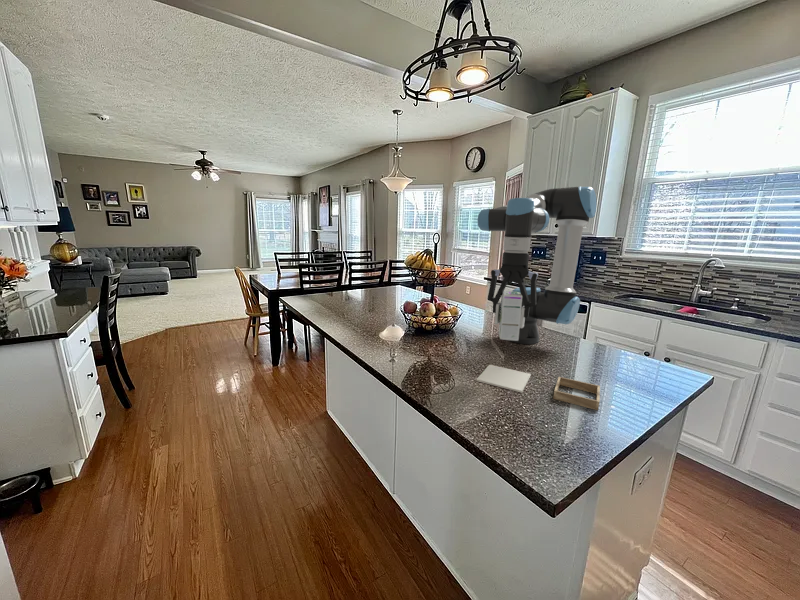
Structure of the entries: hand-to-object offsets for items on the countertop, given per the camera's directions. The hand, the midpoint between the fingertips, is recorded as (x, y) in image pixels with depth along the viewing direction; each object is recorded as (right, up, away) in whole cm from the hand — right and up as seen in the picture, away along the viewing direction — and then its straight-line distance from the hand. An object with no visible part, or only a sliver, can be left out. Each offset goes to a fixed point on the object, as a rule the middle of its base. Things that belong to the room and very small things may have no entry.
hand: (509, 325), depth 103 cm
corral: (+18, -20, -7) cm, 28 cm away
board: (0, -18, +4) cm, 18 cm away
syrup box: (0, -4, +1) cm, 4 cm away
